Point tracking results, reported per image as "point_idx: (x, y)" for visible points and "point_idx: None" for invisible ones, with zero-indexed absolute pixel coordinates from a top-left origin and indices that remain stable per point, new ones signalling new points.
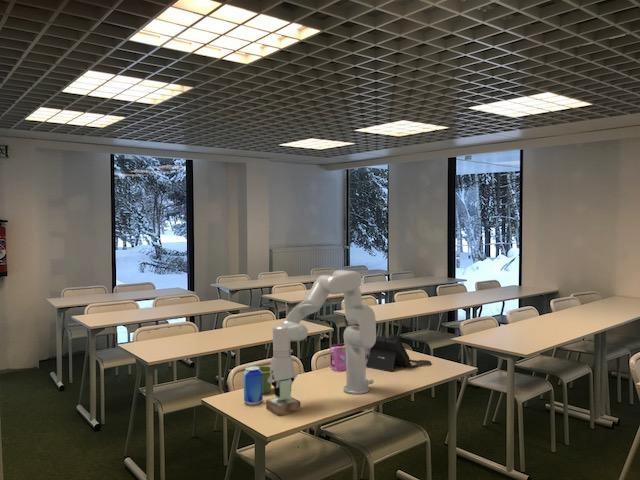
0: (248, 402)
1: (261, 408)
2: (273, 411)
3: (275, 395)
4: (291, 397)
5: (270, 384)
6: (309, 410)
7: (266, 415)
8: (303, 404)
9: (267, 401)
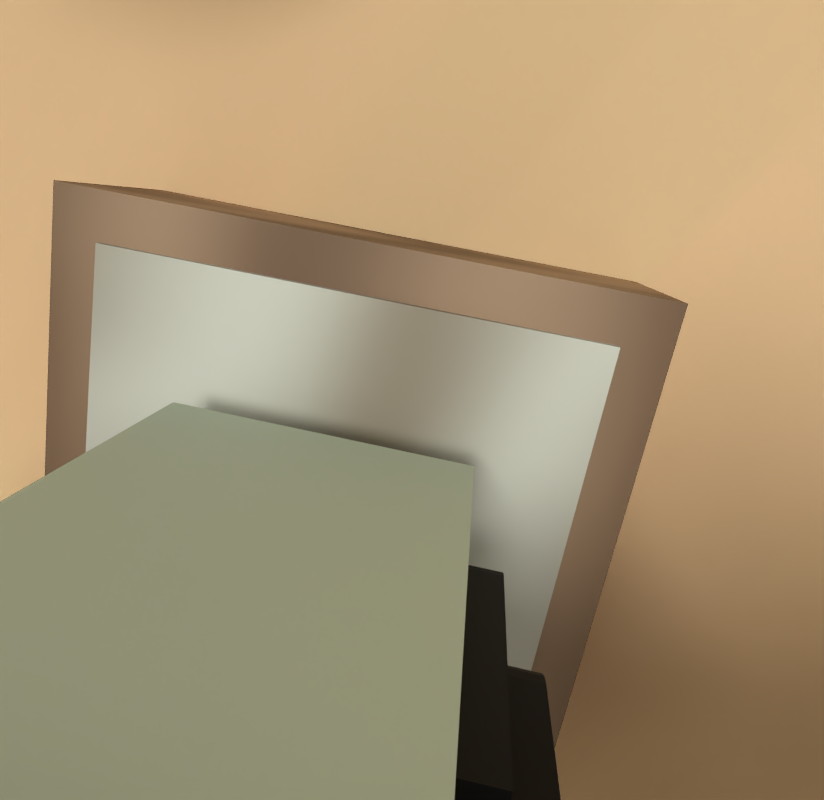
0: None
1: (113, 86)
2: None
3: (146, 425)
4: (601, 526)
5: None
6: (615, 786)
7: (9, 437)
8: (791, 542)
9: (62, 253)
